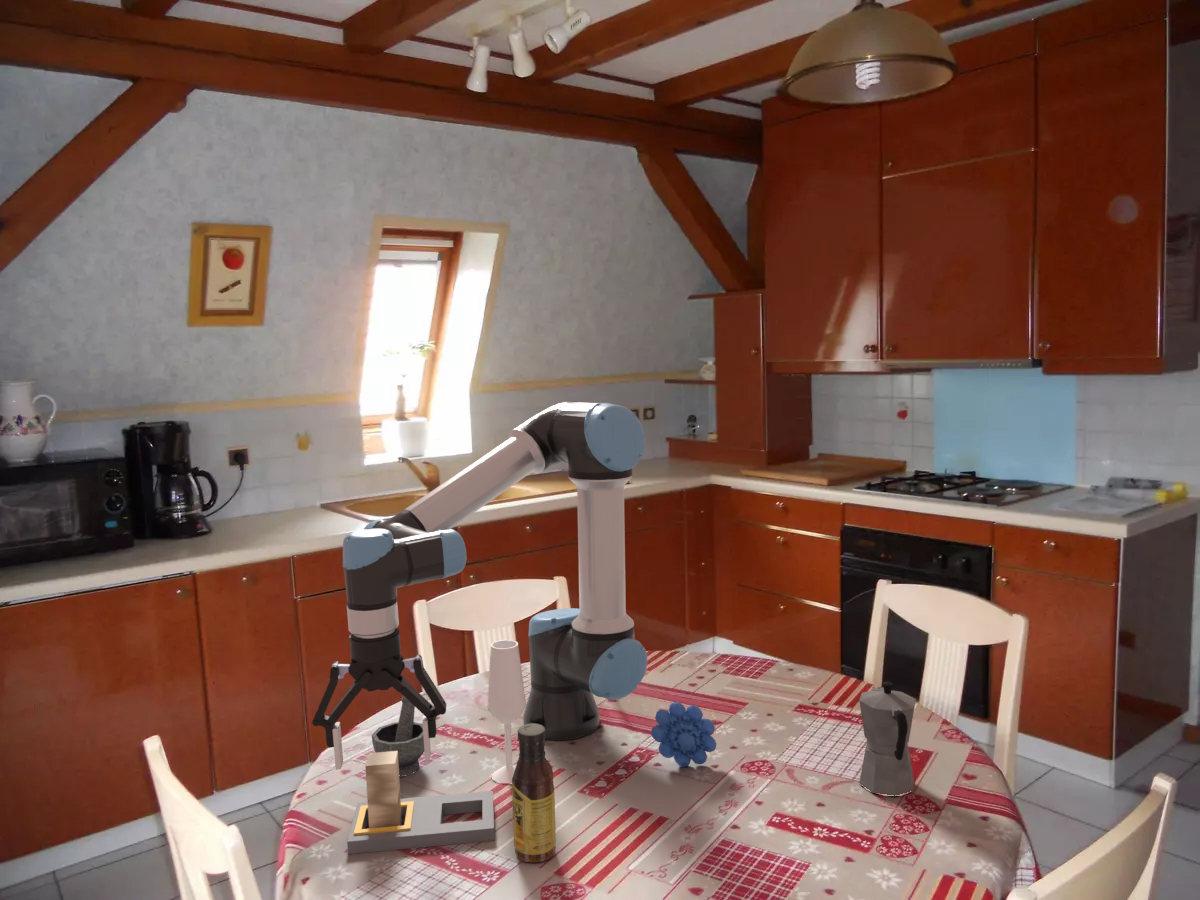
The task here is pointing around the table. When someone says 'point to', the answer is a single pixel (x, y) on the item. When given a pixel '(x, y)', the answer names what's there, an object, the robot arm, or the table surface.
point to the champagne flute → (505, 696)
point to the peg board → (425, 824)
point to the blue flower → (684, 734)
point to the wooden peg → (383, 789)
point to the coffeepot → (887, 740)
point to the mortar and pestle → (402, 739)
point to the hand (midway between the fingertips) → (384, 761)
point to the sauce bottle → (533, 798)
